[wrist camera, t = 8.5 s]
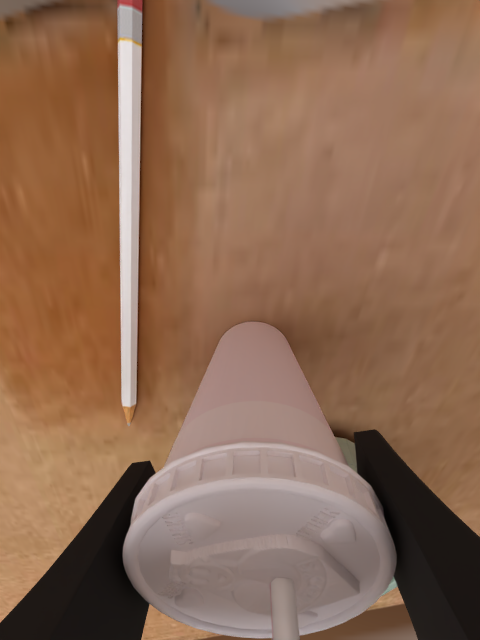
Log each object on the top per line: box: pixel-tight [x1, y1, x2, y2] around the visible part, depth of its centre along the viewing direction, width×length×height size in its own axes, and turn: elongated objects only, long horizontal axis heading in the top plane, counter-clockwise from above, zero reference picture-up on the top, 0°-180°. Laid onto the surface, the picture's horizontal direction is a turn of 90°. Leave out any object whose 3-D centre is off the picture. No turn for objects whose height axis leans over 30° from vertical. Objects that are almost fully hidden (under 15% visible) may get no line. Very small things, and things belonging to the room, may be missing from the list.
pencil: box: [118, 0, 142, 426], centre depth 14 cm, size 1×19×1 cm, turn 171°
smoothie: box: [123, 322, 397, 640], centre depth 10 cm, size 6×6×14 cm
